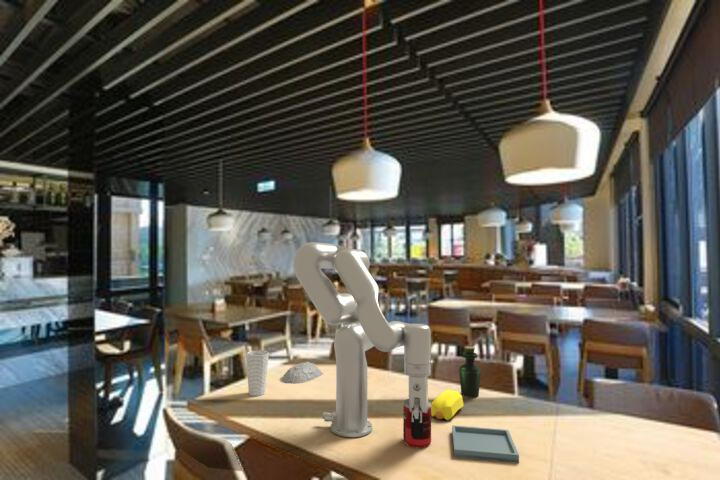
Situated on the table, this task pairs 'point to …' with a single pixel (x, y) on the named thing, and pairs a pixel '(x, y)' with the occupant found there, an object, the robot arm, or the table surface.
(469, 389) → the potion bottle
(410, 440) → the canned food
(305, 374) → the grey rock
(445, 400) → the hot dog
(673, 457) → the table surface
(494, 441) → the tray
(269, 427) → the table surface
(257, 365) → the cup
